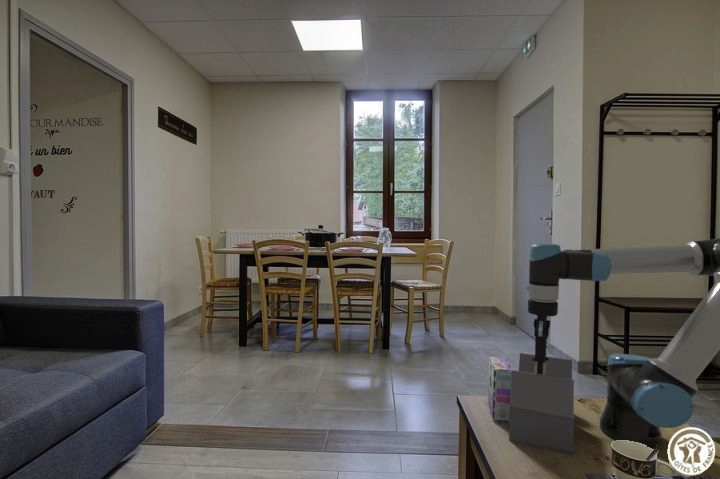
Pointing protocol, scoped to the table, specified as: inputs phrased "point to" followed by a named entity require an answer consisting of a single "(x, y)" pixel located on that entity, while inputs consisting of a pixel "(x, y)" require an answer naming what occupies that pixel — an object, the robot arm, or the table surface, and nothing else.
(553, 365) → the far flap
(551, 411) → the near flap
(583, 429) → the table surface
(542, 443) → the carton
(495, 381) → the candy box
